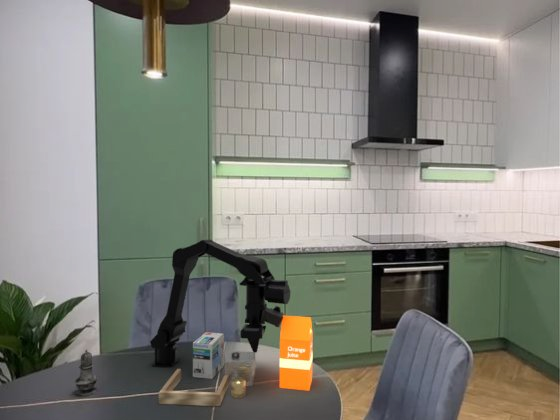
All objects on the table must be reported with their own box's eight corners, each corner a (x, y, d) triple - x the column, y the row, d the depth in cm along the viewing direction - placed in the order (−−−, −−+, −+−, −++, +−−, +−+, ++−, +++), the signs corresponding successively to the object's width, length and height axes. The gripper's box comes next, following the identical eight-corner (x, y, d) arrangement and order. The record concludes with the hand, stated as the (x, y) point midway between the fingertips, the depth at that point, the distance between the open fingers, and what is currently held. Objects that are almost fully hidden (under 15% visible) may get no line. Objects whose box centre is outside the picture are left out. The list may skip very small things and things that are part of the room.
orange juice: (284, 376, 118) (284, 311, 118) (312, 378, 116) (313, 313, 116) (279, 387, 111) (279, 319, 110) (309, 391, 109) (309, 321, 109)
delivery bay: (158, 403, 101) (158, 392, 101) (177, 378, 116) (177, 368, 116) (219, 406, 100) (219, 394, 100) (230, 380, 115) (230, 370, 115)
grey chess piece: (102, 388, 109) (102, 347, 109) (85, 398, 104) (86, 354, 104) (86, 385, 111) (86, 344, 111) (69, 394, 106) (69, 351, 105)
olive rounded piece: (229, 397, 105) (230, 383, 105) (232, 390, 109) (232, 376, 109) (244, 398, 104) (244, 383, 104) (246, 391, 108) (246, 377, 108)
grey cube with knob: (224, 385, 112) (224, 358, 112) (229, 373, 120) (230, 348, 120) (252, 386, 111) (252, 359, 111) (256, 374, 119) (256, 349, 119)
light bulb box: (212, 379, 115) (212, 344, 115) (191, 377, 117) (191, 342, 117) (224, 365, 126) (224, 332, 126) (205, 363, 127) (205, 331, 127)
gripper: (280, 309, 105) (279, 366, 105) (283, 294, 124) (283, 341, 124) (240, 308, 106) (239, 364, 106) (249, 293, 125) (249, 340, 125)
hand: (255, 352), depth 115 cm, fingers closed
